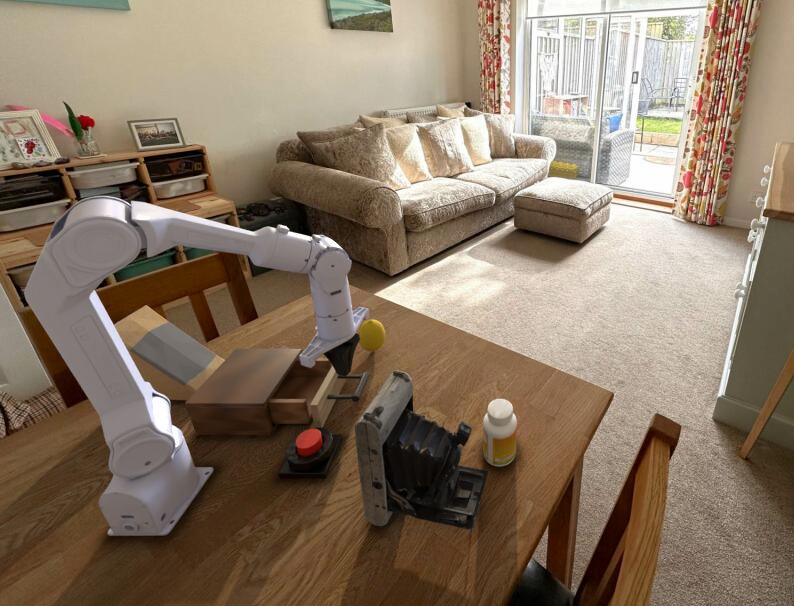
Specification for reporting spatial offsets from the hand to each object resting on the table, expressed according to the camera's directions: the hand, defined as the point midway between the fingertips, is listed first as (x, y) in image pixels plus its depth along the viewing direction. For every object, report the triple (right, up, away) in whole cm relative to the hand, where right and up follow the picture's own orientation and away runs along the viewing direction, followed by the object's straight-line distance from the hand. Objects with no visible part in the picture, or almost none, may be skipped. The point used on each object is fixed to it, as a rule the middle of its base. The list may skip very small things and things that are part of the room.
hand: (343, 372), depth 72 cm
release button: (-2, -9, -8) cm, 12 cm away
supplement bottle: (+28, -11, -6) cm, 31 cm away
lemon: (0, -2, +17) cm, 17 cm away
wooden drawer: (-5, -6, +2) cm, 8 cm away
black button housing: (-2, -11, -7) cm, 13 cm away
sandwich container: (-33, -5, +7) cm, 34 cm away
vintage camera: (+18, -14, -13) cm, 27 cm away
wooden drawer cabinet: (-17, -7, +2) cm, 18 cm away
